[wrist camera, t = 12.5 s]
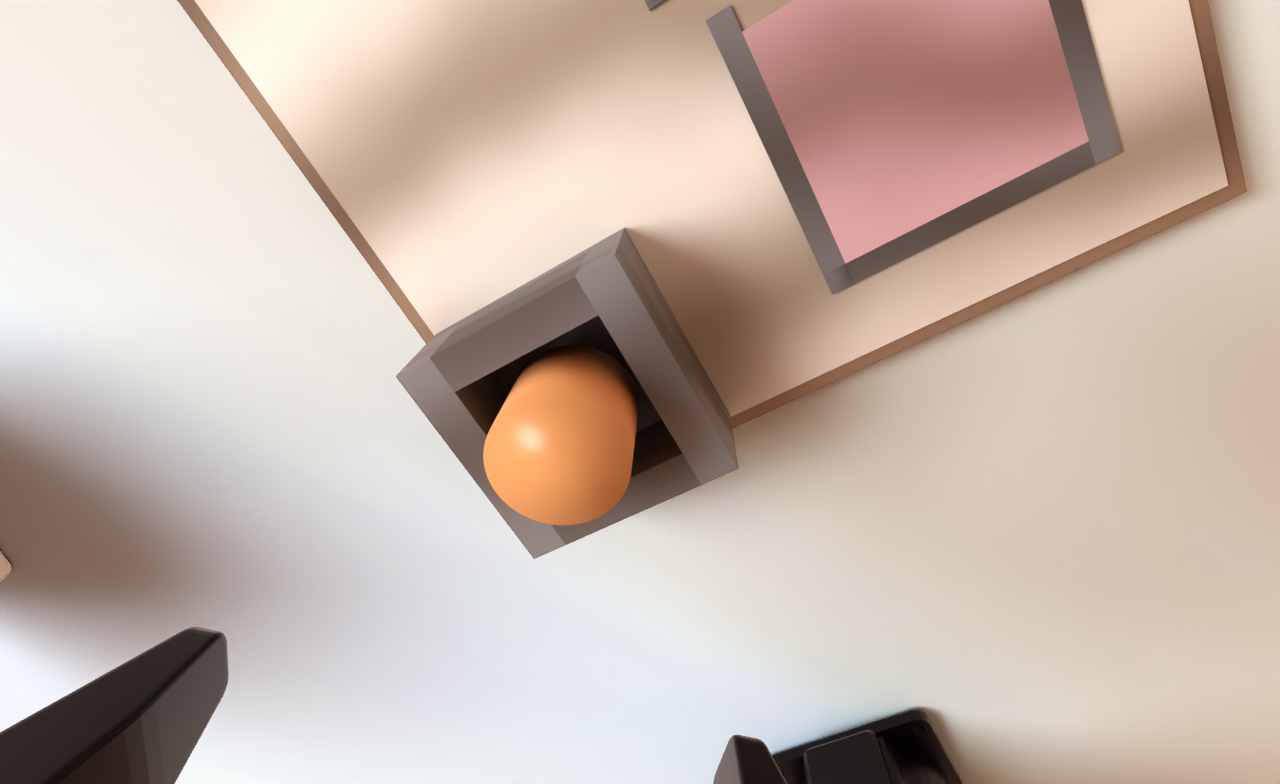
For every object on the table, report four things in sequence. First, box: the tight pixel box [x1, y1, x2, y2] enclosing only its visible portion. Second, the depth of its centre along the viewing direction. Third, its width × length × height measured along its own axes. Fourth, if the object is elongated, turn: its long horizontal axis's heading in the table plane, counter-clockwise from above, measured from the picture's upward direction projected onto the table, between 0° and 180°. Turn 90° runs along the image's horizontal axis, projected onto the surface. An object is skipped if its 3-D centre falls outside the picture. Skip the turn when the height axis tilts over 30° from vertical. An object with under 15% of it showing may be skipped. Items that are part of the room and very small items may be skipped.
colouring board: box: [178, 0, 1247, 559], centre depth 14 cm, size 20×20×4 cm
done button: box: [483, 345, 639, 525], centre depth 16 cm, size 3×3×3 cm
